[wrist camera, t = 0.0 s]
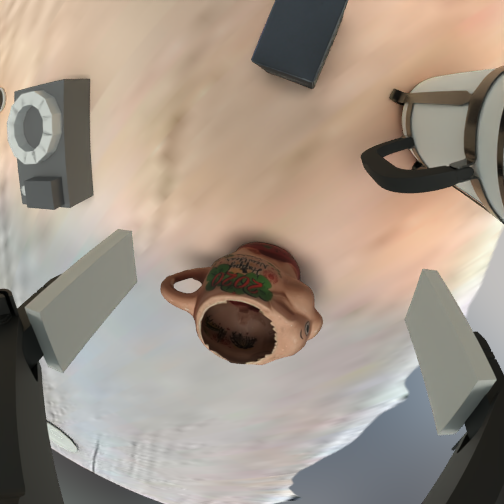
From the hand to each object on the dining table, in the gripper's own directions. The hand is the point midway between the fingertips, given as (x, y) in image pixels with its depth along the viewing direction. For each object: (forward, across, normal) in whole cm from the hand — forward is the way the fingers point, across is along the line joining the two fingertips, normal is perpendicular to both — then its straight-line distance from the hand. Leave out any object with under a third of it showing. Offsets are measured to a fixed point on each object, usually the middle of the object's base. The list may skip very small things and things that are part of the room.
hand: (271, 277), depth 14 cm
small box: (+28, 0, +15) cm, 32 cm away
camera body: (+28, -35, +2) cm, 45 cm away
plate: (+28, -76, -103) cm, 131 cm away
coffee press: (+28, +17, +7) cm, 34 cm away
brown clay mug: (+28, -4, -16) cm, 33 cm away
